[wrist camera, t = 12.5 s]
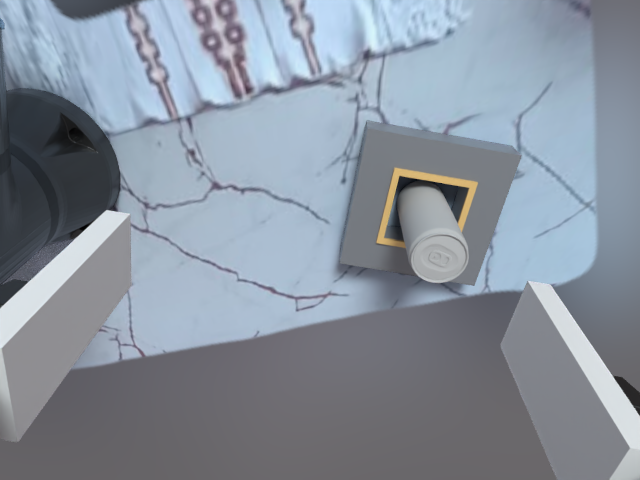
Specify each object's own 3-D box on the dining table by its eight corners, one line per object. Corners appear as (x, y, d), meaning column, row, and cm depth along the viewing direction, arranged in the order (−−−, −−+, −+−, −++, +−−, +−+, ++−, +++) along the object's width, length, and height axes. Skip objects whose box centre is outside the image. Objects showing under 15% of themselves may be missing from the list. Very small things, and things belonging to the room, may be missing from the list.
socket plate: (340, 249, 53) (339, 264, 50) (366, 120, 46) (368, 129, 44) (467, 270, 53) (474, 287, 50) (511, 145, 47) (522, 156, 44)
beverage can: (410, 170, 48) (428, 222, 38) (453, 190, 49) (482, 246, 39) (387, 210, 51) (398, 270, 40) (428, 229, 51) (449, 293, 41)
